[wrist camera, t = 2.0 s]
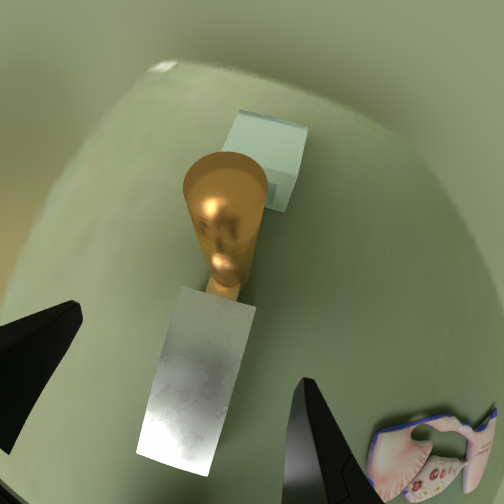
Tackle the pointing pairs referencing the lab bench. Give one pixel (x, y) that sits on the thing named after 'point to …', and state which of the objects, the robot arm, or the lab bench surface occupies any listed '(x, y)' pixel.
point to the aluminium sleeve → (195, 380)
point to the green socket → (270, 151)
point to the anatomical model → (426, 459)
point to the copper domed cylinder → (226, 216)
